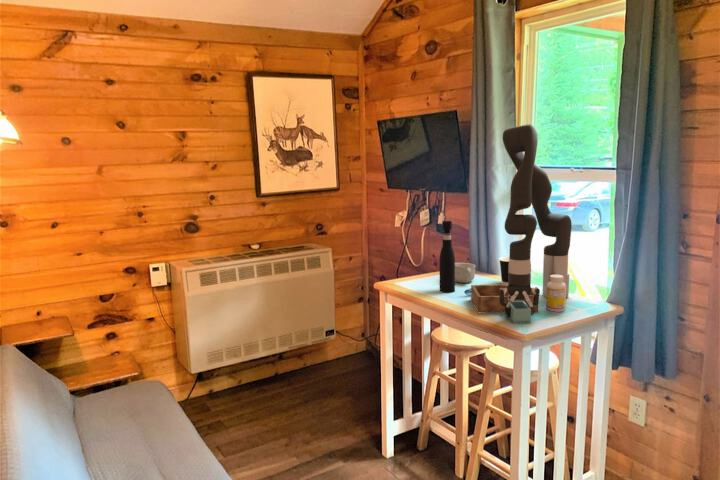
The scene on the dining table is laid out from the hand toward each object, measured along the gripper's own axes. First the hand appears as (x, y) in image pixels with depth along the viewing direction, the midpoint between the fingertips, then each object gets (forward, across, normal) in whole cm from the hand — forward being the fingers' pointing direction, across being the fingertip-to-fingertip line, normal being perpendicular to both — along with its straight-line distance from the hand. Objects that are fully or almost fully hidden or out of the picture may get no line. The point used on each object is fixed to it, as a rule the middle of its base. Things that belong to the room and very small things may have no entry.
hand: (518, 316), depth 191 cm
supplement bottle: (+1, -16, -10) cm, 19 cm away
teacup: (+1, +12, -52) cm, 53 cm away
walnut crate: (+1, +2, -16) cm, 16 cm away
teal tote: (+1, 0, 0) cm, 1 cm away
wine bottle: (+1, +21, -38) cm, 43 cm away
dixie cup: (+1, -7, -49) cm, 50 cm away
